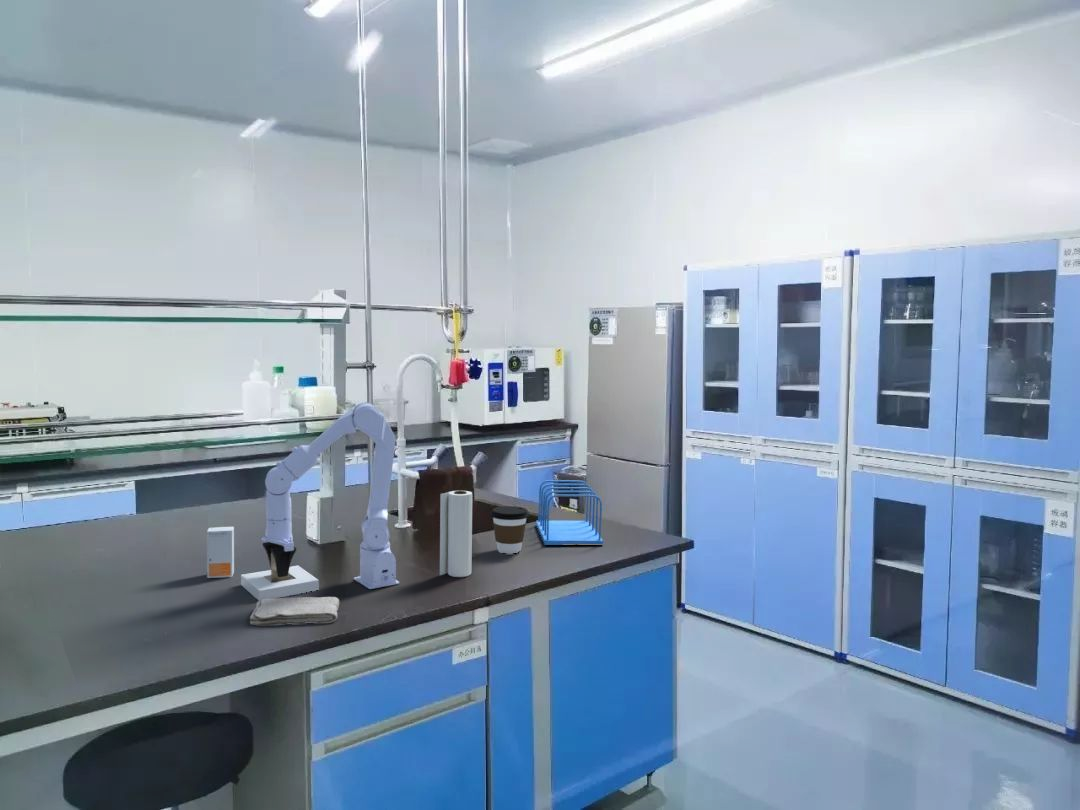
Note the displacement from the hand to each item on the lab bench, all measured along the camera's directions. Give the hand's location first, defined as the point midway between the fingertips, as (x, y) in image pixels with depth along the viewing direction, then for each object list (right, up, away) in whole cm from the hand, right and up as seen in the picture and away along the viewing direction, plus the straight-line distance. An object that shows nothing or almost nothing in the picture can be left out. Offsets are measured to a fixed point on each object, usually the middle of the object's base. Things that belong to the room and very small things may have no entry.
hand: (279, 573), depth 190 cm
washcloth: (+9, -6, -17) cm, 20 cm away
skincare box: (-17, -3, +9) cm, 20 cm away
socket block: (0, -3, 0) cm, 3 cm away
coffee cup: (+54, -1, +35) cm, 64 cm away
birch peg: (0, -2, 0) cm, 2 cm away
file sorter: (+71, 0, +54) cm, 89 cm away
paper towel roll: (+41, -3, +14) cm, 43 cm away
